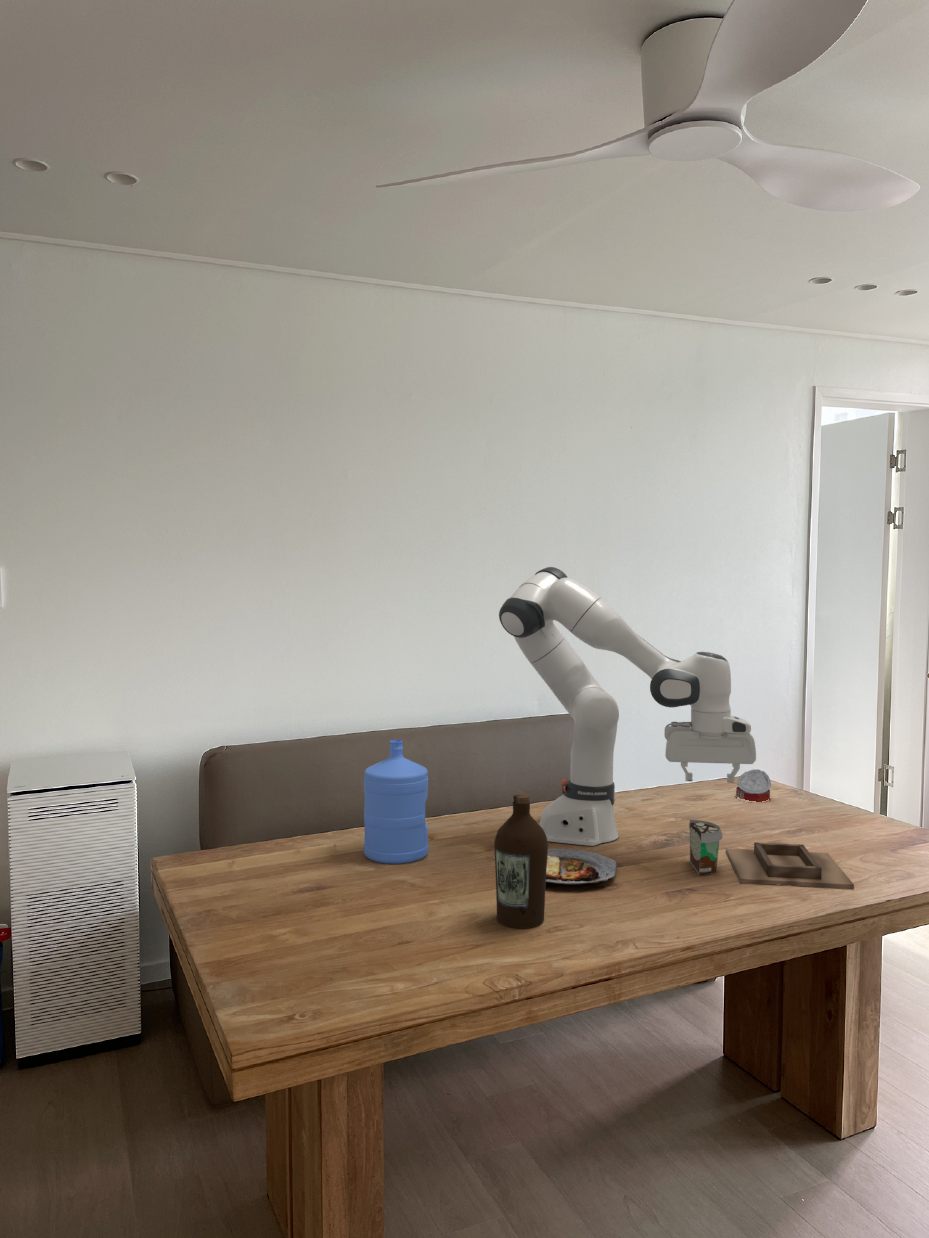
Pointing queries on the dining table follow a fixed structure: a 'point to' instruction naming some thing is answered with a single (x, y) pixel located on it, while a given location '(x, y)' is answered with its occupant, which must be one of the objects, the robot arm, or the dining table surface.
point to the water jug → (395, 809)
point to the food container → (704, 846)
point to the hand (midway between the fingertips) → (709, 781)
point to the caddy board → (787, 866)
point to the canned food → (754, 786)
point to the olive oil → (520, 868)
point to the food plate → (578, 867)
